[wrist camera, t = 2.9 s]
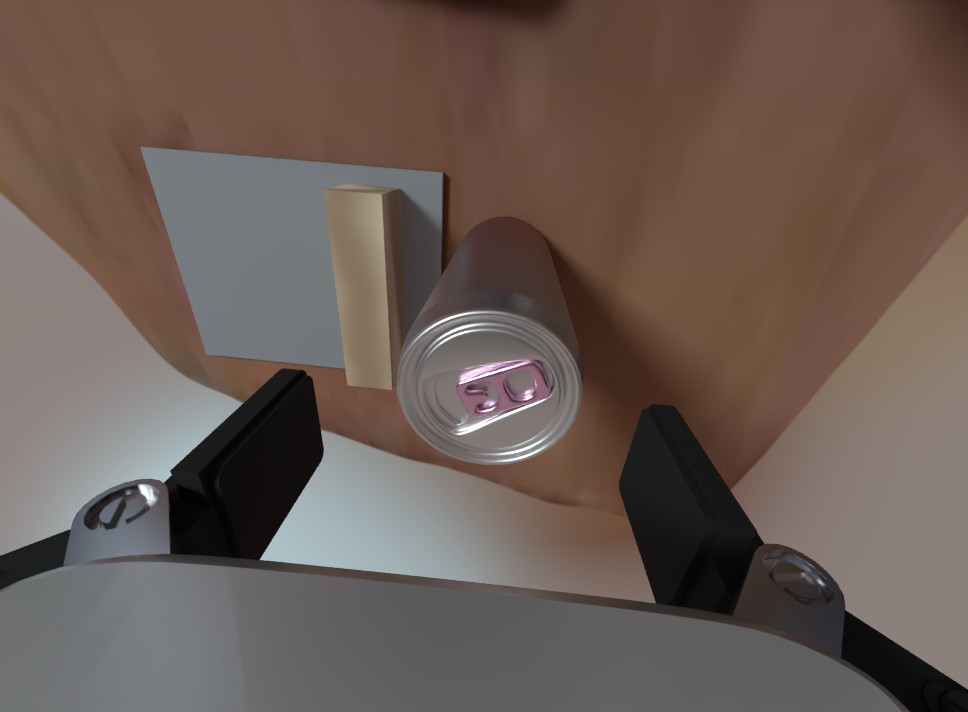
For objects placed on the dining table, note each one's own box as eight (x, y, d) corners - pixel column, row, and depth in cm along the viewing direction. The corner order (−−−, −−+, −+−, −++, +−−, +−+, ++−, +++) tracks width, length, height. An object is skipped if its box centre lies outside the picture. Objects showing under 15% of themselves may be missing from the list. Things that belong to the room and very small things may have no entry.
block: (400, 187, 22) (381, 194, 19) (405, 363, 28) (392, 390, 25) (350, 183, 23) (323, 189, 19) (365, 359, 28) (347, 385, 25)
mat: (443, 172, 22) (442, 173, 22) (439, 375, 29) (438, 378, 29) (145, 146, 23) (140, 147, 22) (210, 352, 30) (206, 354, 29)
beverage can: (562, 289, 25) (610, 446, 12) (478, 318, 27) (440, 486, 13) (533, 199, 23) (555, 271, 9) (442, 236, 24) (352, 343, 11)
